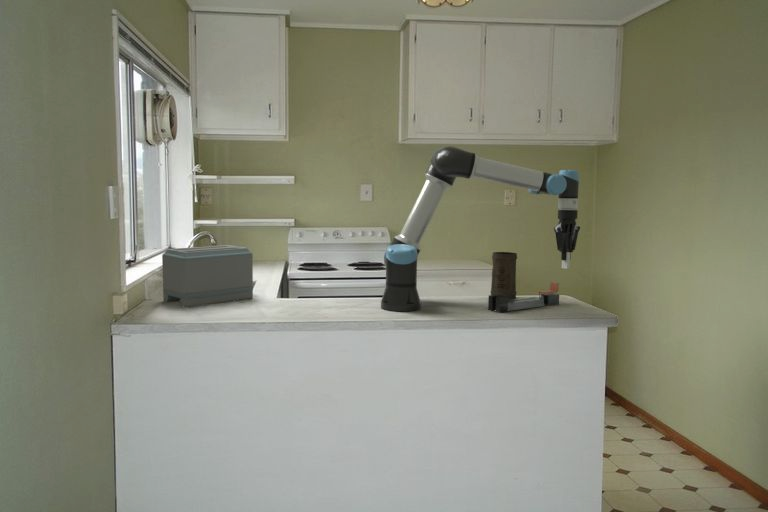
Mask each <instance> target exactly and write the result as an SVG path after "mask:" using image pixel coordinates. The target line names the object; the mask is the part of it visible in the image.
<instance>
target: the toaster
mask: <svg viewBox="0 0 768 512" xmlns="http://www.w3.org/2000/svg"><path fill="white" fill-rule="evenodd" d="M161 256H162V257H161V259H162V263H161V264H162V292H163V293H162V295H163V296H162V297H163V301H164V302H166V303H169V302H178V301H180V304H181V306H182V307H183V308H185V309H186V308H195V307H201V306H208V305H216V304H222V303H229V302H236V301H237V302H238V301H244V300H251V299H253V298H254V281H253V280H254V276H253V274H254V273H253V270H254V269H253V267H254V266H253V260H254V258H253V252H251V250H249V248H248V247H243V246H237V245H230V244H224V245H223V244H222V245H207V246H196V247H195V246H193V247H180V248H167V250H165V252H164V253H163V254H162V255H161Z"/></svg>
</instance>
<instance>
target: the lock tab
mask: <svg viewBox="0 0 768 512" xmlns="http://www.w3.org/2000/svg"><path fill="white" fill-rule="evenodd" d="M549 283H550V286H549V290H540V291H538V294H551V293H555V294H558V292H559V288H560V287H559V285H560V284H559V283H560V282H555V281H550V282H549Z"/></svg>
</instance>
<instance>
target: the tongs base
mask: <svg viewBox="0 0 768 512" xmlns="http://www.w3.org/2000/svg"><path fill="white" fill-rule="evenodd" d="M538 294H539V293H538ZM496 297H501V296H500V295H491V294H490V295H488V299H487V300H488V303H487V305H488V307H487V310H488V311H490V310H492V311H491V312H494V311H493V310H496ZM536 298H542V299H544V306H543V307H545V306H548V307H550V306H557V304H558V305H559V304H560V294H558V293H551V294H539V295H538V297H537V296H530V297H529V296H528V297H521V298H516V299H511V300H508V302H513V301H520V300H528V299H536Z"/></svg>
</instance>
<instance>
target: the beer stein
mask: <svg viewBox="0 0 768 512" xmlns="http://www.w3.org/2000/svg"><path fill="white" fill-rule="evenodd" d="M491 259H492V269H491V286H490V287H491V288H490V295H500V296H501V297H502V296H505V297H508V300H511V299H517V289H516V288H517V286H516V285H517V283H516V281H517V278H516V276H517V259H518V253H516V252H510V251H495V252H492V255H491Z"/></svg>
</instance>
